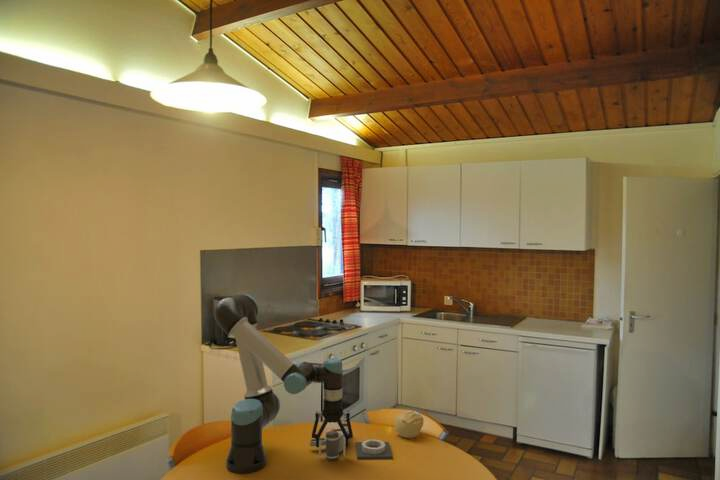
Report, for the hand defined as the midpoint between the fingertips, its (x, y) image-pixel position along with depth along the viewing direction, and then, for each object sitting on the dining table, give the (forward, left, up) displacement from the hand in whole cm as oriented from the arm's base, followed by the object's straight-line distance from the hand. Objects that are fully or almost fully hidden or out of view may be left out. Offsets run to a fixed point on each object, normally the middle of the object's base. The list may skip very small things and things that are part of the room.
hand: (332, 454), depth 197 cm
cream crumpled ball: (+34, +22, -2) cm, 41 cm away
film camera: (0, +14, -2) cm, 14 cm away
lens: (0, 0, -1) cm, 1 cm away
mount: (+17, +6, -1) cm, 18 cm away
